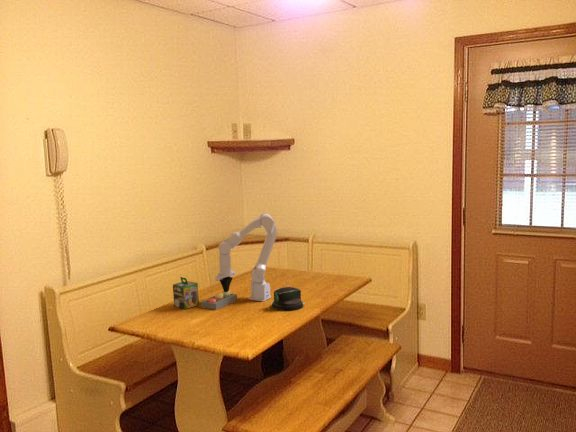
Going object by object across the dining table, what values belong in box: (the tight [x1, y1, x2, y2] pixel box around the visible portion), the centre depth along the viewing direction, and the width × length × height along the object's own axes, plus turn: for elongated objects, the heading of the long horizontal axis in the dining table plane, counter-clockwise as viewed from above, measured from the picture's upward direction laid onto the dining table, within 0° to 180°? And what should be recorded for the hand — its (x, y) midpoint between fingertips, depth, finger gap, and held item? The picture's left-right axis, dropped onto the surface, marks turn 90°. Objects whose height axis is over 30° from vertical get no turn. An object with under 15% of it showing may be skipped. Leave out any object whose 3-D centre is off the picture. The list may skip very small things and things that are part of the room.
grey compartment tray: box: [200, 293, 238, 311], centre depth 272 cm, size 9×18×3 cm, turn 151°
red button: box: [207, 297, 216, 303], centre depth 267 cm, size 4×4×3 cm
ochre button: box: [214, 292, 223, 300], centre depth 272 cm, size 4×4×3 cm
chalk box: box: [172, 276, 200, 310], centre depth 269 cm, size 9×9×15 cm
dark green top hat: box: [267, 286, 305, 312], centre depth 265 cm, size 20×20×9 cm
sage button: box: [221, 290, 231, 297], centre depth 277 cm, size 4×4×3 cm
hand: (226, 291), depth 277 cm, fingers closed, pressing on sage button
